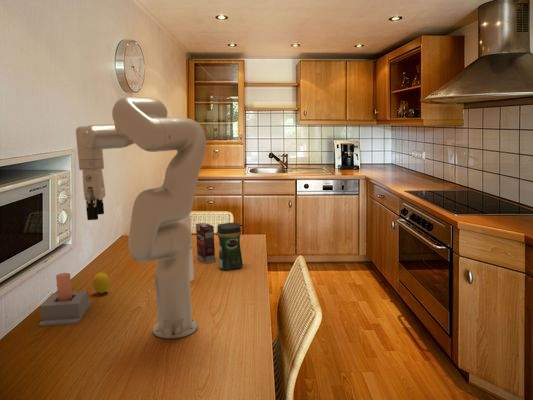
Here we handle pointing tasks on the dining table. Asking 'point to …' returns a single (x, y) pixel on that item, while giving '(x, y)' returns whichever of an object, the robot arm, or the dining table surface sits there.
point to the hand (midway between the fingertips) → (96, 216)
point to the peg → (64, 287)
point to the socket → (64, 309)
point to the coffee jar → (229, 246)
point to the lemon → (101, 282)
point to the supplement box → (205, 242)
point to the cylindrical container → (188, 223)
